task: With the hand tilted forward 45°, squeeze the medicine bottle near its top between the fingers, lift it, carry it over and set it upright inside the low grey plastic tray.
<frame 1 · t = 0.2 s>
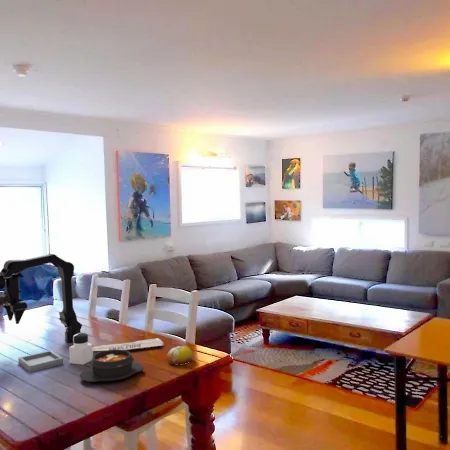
hand: (13, 322, 215), 15 cm above the table, tool pointing down, fingers open, 9 cm apart
tray: (40, 363, 202), on the table
newspaper: (124, 350, 220), on the table
casserole: (112, 376, 187), on the table
fruit: (179, 362, 202), on the table
medicine bottle: (81, 361, 204), on the table
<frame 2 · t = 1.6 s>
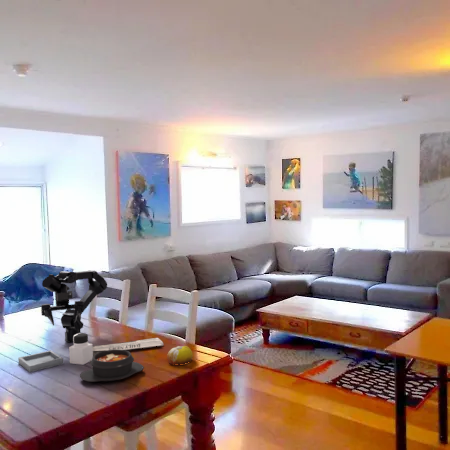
hand: (64, 323, 215), 13 cm above the table, tool tilted 45°, fingers open, 9 cm apart
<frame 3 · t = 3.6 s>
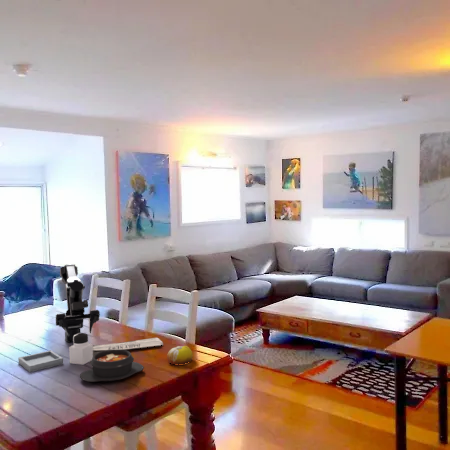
hand: (79, 334, 206), 11 cm above the table, tool tilted 45°, fingers open, 9 cm apart
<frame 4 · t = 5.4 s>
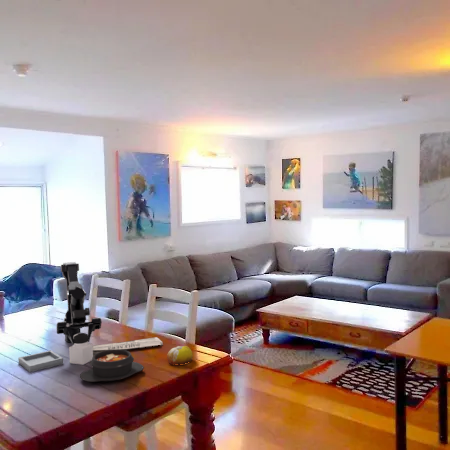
hand: (81, 342, 202), 9 cm above the table, tool tilted 45°, fingers closed on medicine bottle, 6 cm apart
medicine bottle: (81, 361, 204), on the table, touching gripper
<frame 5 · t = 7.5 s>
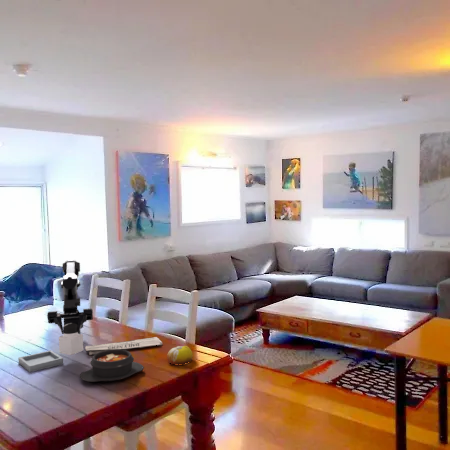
hand: (70, 333, 201), 13 cm above the table, tool tilted 45°, fingers closed on medicine bottle, 6 cm apart
medicine bottle: (71, 352, 203), point 4 cm above the table, touching gripper
when the fingers open (11 cm above the table, at t = 9.6 s): medicine bottle drops 1 cm, resting on tray.
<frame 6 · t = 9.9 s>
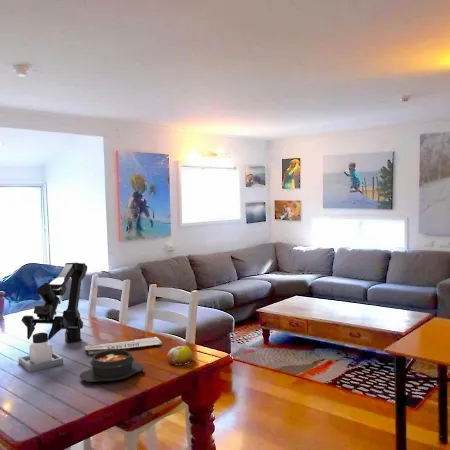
hand: (38, 339, 200), 11 cm above the table, tool tilted 45°, fingers open, 9 cm apart
medicine bottle: (41, 361, 202), point 1 cm above the table, touching tray
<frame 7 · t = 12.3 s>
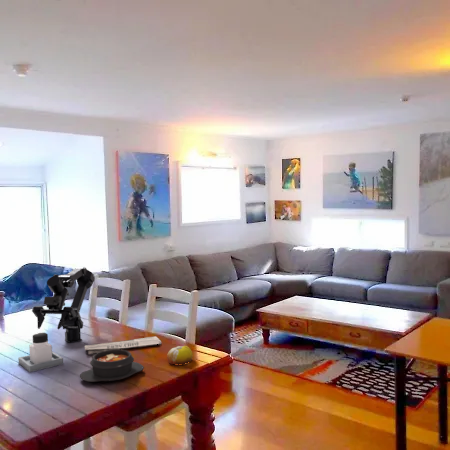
hand: (48, 328, 209), 13 cm above the table, tool tilted 45°, fingers open, 9 cm apart
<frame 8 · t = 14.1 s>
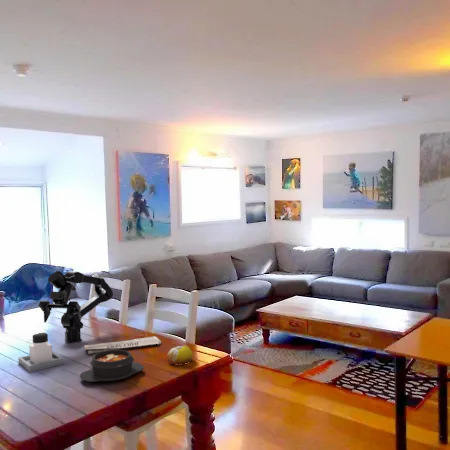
hand: (54, 322, 217), 14 cm above the table, tool tilted 45°, fingers open, 9 cm apart
at the end: medicine bottle inside the target area on the tray (0.2 cm from its centre), point 0.8 cm above the tray's base; medicine bottle tilted 0°; the gripper is holding nothing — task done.
